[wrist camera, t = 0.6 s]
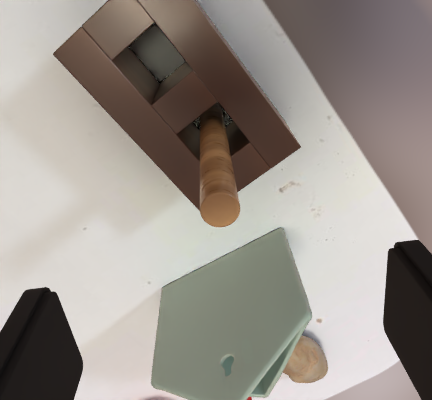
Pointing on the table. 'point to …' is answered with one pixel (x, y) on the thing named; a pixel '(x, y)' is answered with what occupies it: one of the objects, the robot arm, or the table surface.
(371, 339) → the table surface
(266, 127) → the holder
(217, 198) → the stirring stick
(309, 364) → the stone
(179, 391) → the planter
